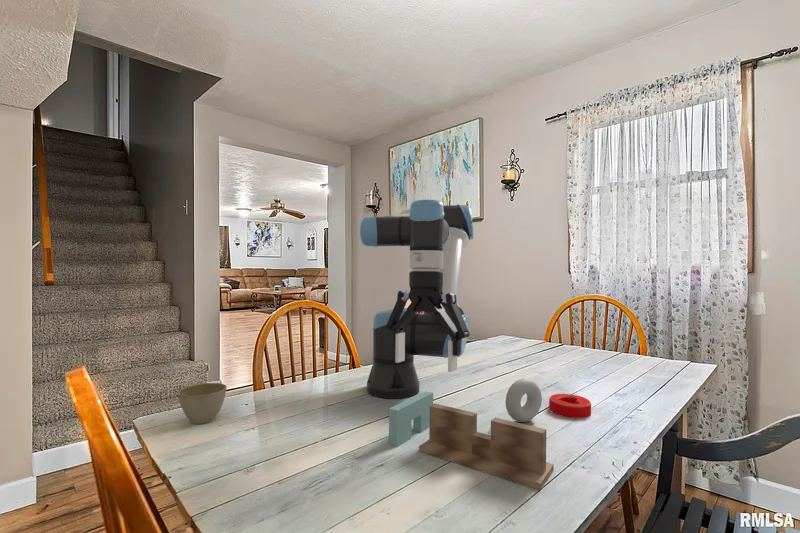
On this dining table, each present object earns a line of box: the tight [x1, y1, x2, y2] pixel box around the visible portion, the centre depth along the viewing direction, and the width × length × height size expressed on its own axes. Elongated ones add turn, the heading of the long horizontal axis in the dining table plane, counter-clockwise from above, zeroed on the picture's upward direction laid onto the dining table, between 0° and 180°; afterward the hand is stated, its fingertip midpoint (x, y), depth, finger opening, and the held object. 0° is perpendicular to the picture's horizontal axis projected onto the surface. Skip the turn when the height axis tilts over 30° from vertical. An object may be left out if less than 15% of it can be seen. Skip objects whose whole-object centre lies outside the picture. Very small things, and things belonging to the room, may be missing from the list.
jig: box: [418, 402, 555, 491], centre depth 75 cm, size 23×8×8 cm, turn 55°
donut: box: [505, 377, 543, 423], centre depth 94 cm, size 10×4×10 cm, turn 117°
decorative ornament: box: [548, 393, 592, 419], centre depth 101 cm, size 10×10×3 cm
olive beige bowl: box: [177, 382, 227, 425], centre depth 93 cm, size 10×10×7 cm
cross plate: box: [388, 390, 434, 448], centre depth 86 cm, size 14×2×7 cm, turn 145°
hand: (425, 365), depth 90 cm, fingers open, 13 cm apart
